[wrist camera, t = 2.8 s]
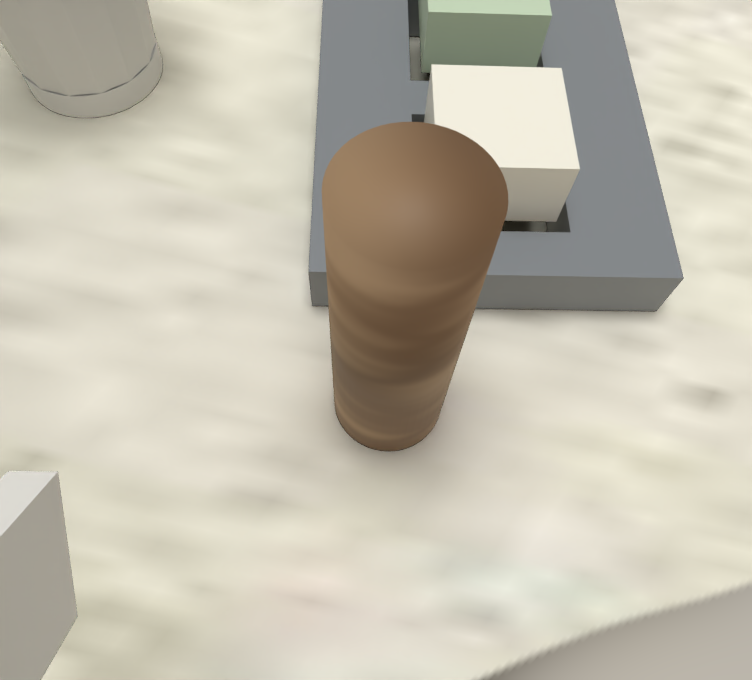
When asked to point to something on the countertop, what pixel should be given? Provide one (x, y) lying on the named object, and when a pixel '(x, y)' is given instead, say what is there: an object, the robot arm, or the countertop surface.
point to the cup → (83, 52)
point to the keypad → (592, 139)
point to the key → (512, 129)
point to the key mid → (482, 32)
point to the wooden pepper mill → (404, 271)
